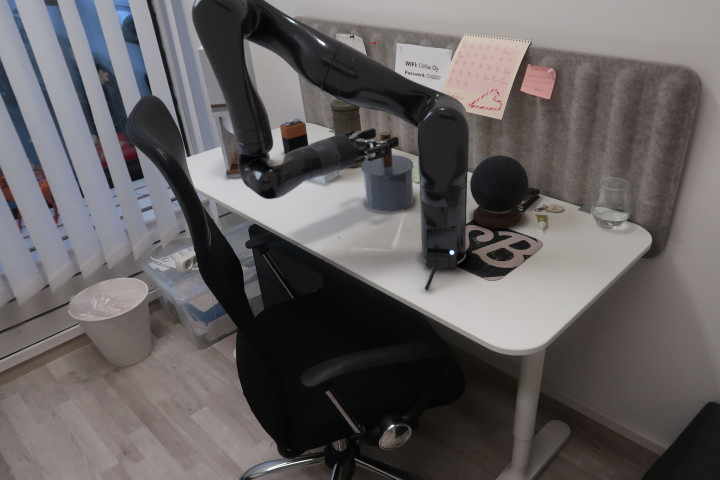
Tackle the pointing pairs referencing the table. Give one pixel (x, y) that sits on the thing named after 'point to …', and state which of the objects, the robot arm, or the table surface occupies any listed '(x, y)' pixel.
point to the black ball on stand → (498, 191)
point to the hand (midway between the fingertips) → (386, 136)
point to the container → (346, 122)
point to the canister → (389, 192)
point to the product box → (326, 177)
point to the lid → (387, 164)
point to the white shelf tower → (225, 111)
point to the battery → (294, 135)
